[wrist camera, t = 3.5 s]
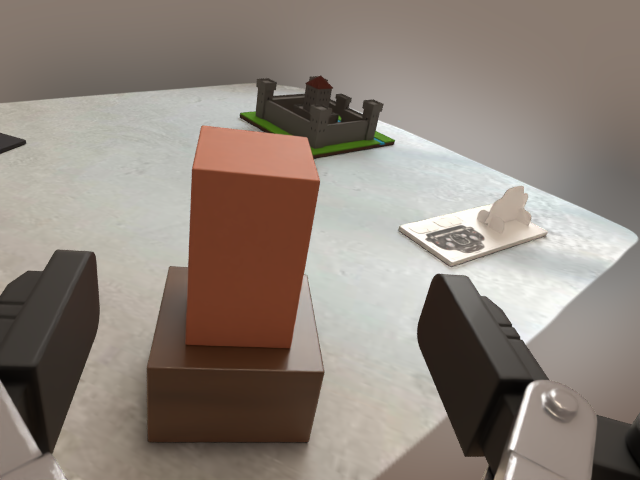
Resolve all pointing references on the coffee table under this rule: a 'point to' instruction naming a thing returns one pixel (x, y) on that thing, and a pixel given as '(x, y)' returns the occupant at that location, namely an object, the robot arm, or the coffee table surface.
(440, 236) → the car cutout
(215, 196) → the top block
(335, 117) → the castle model
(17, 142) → the felt mat
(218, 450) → the coffee table surface
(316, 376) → the base block
